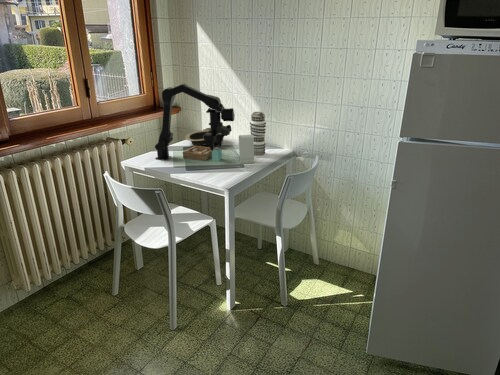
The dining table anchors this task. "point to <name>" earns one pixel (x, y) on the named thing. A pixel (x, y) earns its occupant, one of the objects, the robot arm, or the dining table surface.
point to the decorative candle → (258, 133)
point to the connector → (217, 154)
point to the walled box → (198, 155)
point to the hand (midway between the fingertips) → (216, 148)
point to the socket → (197, 151)
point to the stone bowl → (199, 137)
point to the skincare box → (246, 148)
